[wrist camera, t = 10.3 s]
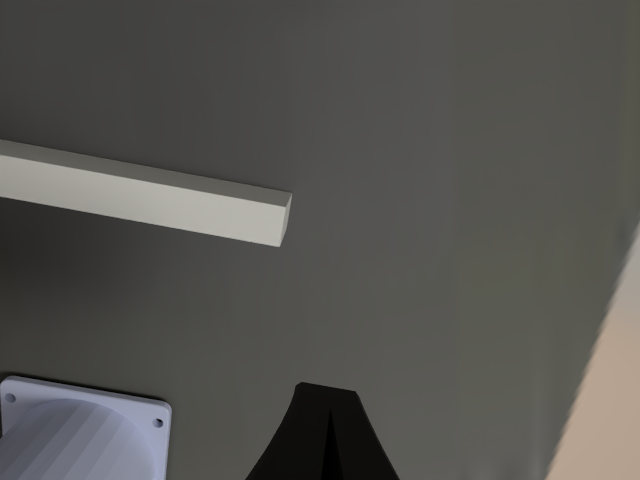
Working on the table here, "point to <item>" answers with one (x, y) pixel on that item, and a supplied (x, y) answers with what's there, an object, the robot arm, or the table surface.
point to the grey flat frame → (143, 193)
